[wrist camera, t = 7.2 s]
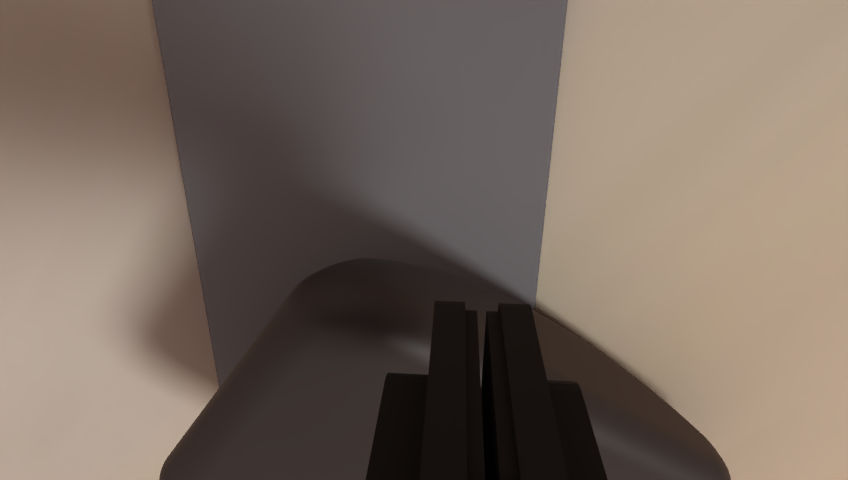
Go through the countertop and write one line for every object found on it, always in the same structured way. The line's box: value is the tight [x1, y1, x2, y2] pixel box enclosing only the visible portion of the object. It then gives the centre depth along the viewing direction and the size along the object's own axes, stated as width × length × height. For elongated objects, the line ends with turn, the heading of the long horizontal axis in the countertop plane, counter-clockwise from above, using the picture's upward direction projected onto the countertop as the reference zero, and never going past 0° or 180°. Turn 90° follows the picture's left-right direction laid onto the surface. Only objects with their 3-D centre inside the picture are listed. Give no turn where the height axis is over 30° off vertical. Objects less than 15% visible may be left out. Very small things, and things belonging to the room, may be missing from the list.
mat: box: [152, 0, 568, 387], centre depth 17 cm, size 11×16×1 cm
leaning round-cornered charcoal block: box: [159, 258, 731, 480], centre depth 18 cm, size 16×5×10 cm
